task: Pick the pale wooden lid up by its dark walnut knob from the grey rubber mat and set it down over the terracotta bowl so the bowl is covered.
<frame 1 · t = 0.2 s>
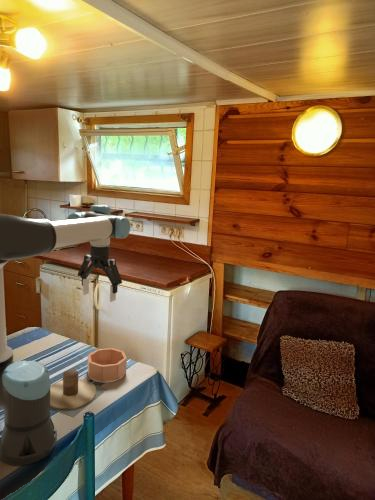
hand: (99, 297, 148), 27 cm above the table, fingers open, 13 cm apart
lid: (70, 394, 128), resting on mat
bowl: (106, 373, 144), on the table
mat: (70, 395, 128), on the table
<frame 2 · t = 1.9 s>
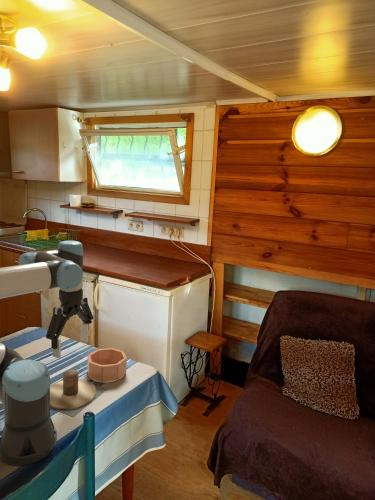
hand: (71, 348, 125), 17 cm above the table, fingers open, 13 cm apart
nothing on the table moved.
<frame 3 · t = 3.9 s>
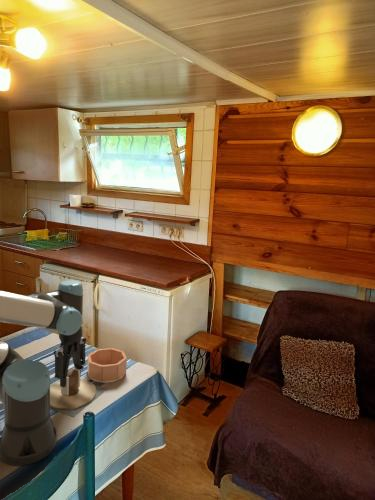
hand: (70, 389, 128), 2 cm above the table, fingers closed on lid, 5 cm apart
lid: (70, 394, 128), resting on mat, touching gripper
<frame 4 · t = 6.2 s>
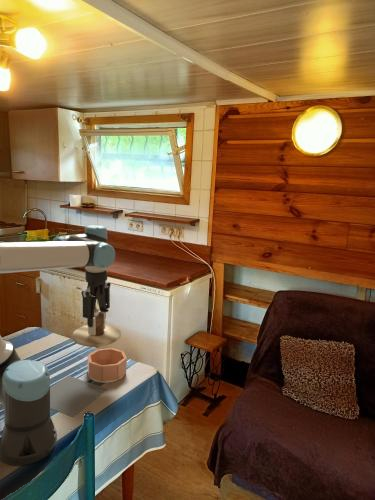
hand: (96, 331, 135), 20 cm above the table, fingers closed on lid, 5 cm apart
lid: (96, 335, 135), point 18 cm above the table, touching gripper
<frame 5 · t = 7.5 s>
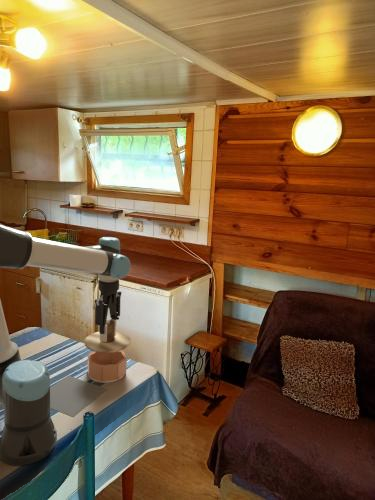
hand: (107, 338, 141), 15 cm above the table, fingers closed on lid, 5 cm apart
lid: (107, 342, 141), point 13 cm above the table, touching gripper
when the fingers open (10 cm above the table, at t = 8.5 s): lid drops 1 cm, resting on bowl.
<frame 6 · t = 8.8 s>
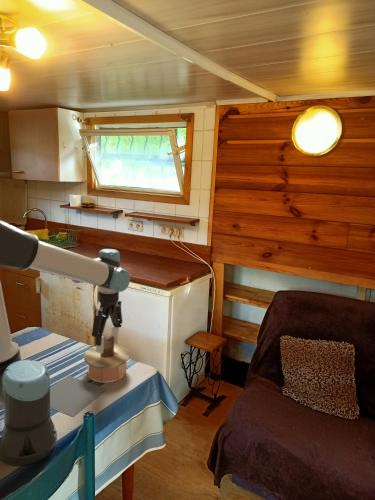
hand: (107, 347, 141), 11 cm above the table, fingers open, 9 cm apart
lid: (107, 356, 142), point 7 cm above the table, touching bowl
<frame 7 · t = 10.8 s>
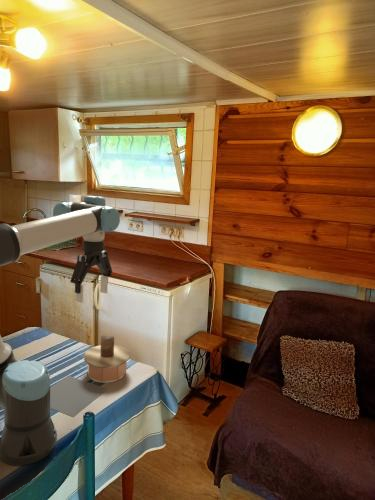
hand: (92, 297, 136), 31 cm above the table, fingers open, 13 cm apart
nothing on the table moved.
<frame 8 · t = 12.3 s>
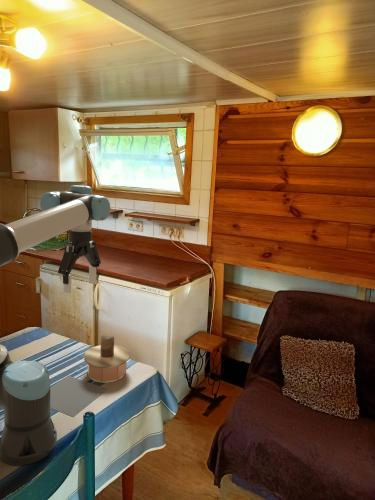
hand: (80, 287, 135), 35 cm above the table, fingers open, 13 cm apart
nothing on the table moved.
at the end: lid 0.0 cm off-centre on the bowl, point 7.0 cm above the bowl's base; lid tilted 0°; the gripper is holding nothing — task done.
